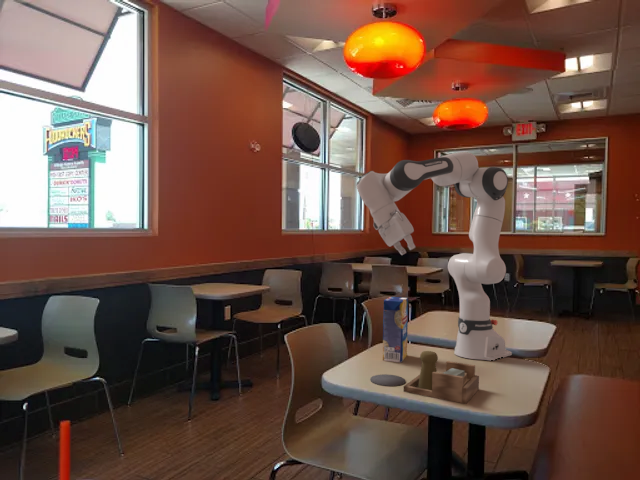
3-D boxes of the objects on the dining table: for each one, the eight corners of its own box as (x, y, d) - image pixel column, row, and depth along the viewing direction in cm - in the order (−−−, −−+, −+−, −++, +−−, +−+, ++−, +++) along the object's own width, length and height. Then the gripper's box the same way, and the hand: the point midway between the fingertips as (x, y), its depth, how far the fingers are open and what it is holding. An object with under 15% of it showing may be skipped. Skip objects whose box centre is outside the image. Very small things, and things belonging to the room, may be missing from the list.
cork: (435, 384, 150) (436, 349, 150) (440, 391, 144) (441, 354, 144) (416, 384, 150) (416, 349, 150) (420, 390, 144) (421, 354, 144)
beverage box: (407, 355, 185) (408, 297, 185) (401, 362, 175) (402, 301, 174) (389, 353, 188) (390, 296, 187) (382, 360, 177) (383, 300, 177)
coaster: (391, 373, 161) (391, 372, 161) (412, 383, 151) (412, 382, 151) (363, 378, 156) (363, 377, 156) (384, 388, 146) (384, 387, 146)
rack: (403, 391, 144) (403, 367, 143) (420, 378, 156) (421, 356, 156) (465, 403, 134) (466, 378, 134) (478, 389, 147) (479, 366, 147)
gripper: (404, 203, 155) (427, 240, 153) (386, 219, 174) (406, 252, 173) (388, 212, 153) (410, 250, 152) (372, 227, 173) (392, 261, 171)
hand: (408, 251), depth 162 cm, fingers open, 8 cm apart
